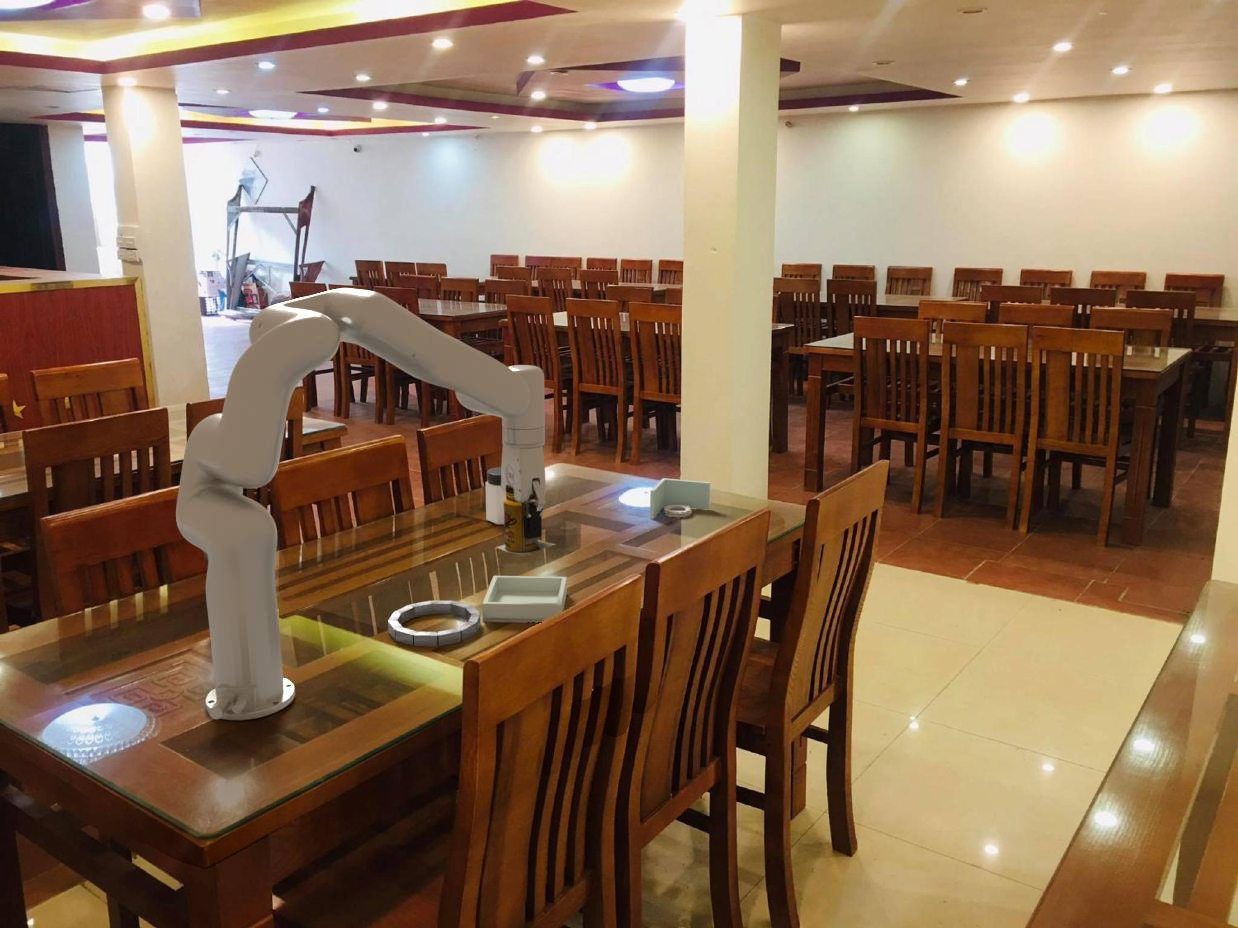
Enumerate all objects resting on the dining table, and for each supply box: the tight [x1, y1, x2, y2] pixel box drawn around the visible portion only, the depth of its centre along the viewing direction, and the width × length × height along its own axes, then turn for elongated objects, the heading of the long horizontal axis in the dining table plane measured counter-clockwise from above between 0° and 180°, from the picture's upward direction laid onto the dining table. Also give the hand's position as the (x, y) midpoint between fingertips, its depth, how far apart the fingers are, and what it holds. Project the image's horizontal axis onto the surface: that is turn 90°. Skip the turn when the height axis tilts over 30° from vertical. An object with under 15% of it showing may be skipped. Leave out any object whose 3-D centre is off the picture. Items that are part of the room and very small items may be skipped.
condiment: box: [495, 485, 556, 557], centre depth 182 cm, size 7×8×12 cm
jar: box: [485, 466, 506, 525], centre depth 238 cm, size 9×8×12 cm
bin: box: [481, 575, 568, 624], centre depth 186 cm, size 14×14×4 cm
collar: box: [387, 599, 481, 648], centre depth 177 cm, size 16×16×2 cm
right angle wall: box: [649, 477, 711, 520], centre depth 244 cm, size 12×12×8 cm
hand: (525, 531), depth 183 cm, fingers closed on condiment, 6 cm apart
